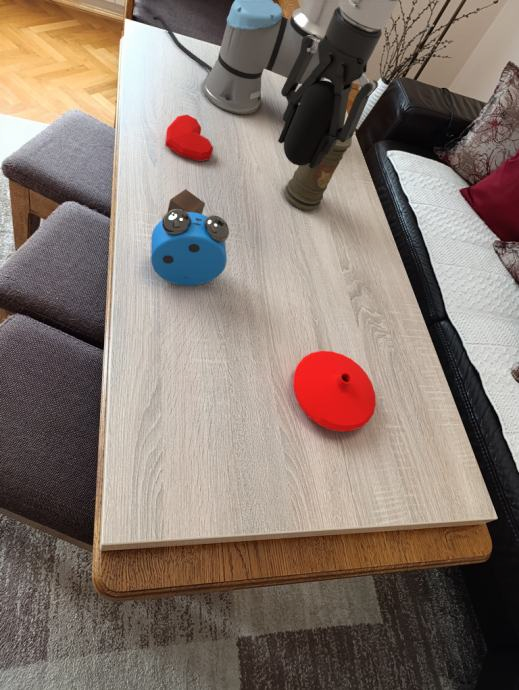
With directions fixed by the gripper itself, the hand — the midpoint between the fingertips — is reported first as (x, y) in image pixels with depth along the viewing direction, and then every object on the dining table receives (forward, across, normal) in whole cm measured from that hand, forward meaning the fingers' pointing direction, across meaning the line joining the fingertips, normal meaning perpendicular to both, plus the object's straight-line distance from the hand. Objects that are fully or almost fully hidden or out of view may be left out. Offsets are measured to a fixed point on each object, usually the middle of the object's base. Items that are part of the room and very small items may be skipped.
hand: (299, 152), depth 89 cm
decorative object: (+2, 0, 0) cm, 2 cm away
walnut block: (+22, -13, -10) cm, 28 cm away
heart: (+22, -29, +7) cm, 37 cm away
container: (+22, -2, +20) cm, 30 cm away
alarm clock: (+22, -3, -21) cm, 31 cm away
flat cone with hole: (+22, +33, -20) cm, 44 cm away
